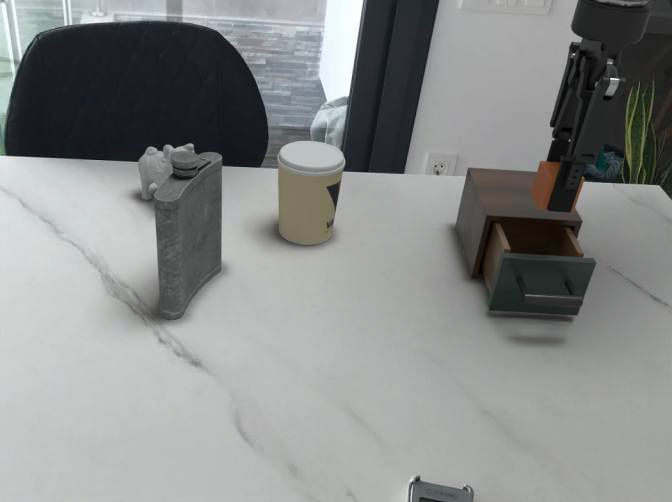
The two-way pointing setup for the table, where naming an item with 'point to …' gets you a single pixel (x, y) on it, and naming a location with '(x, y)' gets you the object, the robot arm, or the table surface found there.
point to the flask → (188, 229)
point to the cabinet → (500, 210)
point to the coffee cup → (308, 190)
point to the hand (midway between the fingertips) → (553, 200)
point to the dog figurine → (157, 166)
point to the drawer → (535, 268)
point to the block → (548, 184)
